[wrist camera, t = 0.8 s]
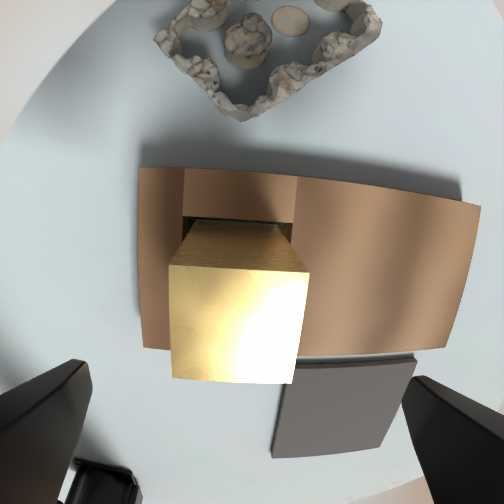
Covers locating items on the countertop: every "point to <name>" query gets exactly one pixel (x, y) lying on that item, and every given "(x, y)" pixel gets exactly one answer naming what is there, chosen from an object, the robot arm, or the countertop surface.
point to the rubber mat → (339, 406)
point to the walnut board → (322, 253)
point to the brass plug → (235, 303)
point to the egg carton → (265, 48)
